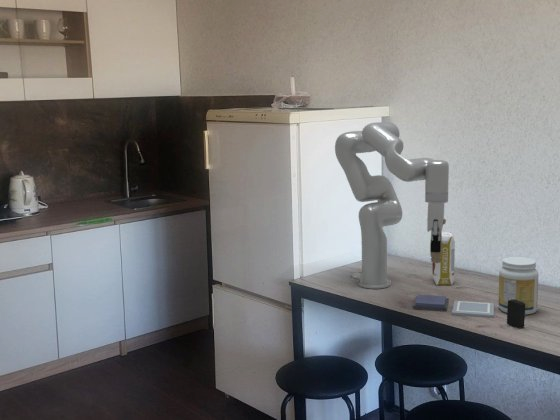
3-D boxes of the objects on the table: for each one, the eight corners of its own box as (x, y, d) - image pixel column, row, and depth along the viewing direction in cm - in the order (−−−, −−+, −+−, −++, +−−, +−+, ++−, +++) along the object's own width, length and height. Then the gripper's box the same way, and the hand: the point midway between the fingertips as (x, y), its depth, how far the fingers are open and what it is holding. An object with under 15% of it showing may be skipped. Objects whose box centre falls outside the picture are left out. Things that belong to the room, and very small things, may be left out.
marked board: (452, 314, 220) (452, 311, 220) (454, 302, 232) (454, 300, 232) (493, 317, 216) (493, 314, 216) (493, 305, 228) (493, 302, 228)
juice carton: (451, 279, 261) (452, 231, 257) (454, 285, 252) (455, 236, 249) (431, 279, 261) (432, 231, 258) (434, 285, 253) (435, 236, 250)
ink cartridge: (524, 327, 206) (525, 302, 205) (519, 329, 205) (520, 304, 204) (511, 322, 211) (513, 298, 209) (506, 324, 210) (507, 299, 208)
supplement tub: (506, 302, 231) (507, 254, 228) (542, 308, 224) (544, 259, 221) (492, 311, 222) (493, 261, 219) (529, 318, 214) (531, 267, 211)
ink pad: (412, 309, 227) (412, 303, 226) (416, 299, 237) (416, 293, 237) (446, 311, 223) (446, 305, 223) (448, 301, 234) (448, 295, 233)
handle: (437, 265, 225) (437, 221, 223) (424, 261, 231) (424, 218, 228) (447, 263, 228) (448, 219, 225) (434, 259, 233) (435, 216, 230)
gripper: (426, 193, 234) (425, 244, 237) (423, 201, 218) (423, 256, 221) (448, 193, 232) (447, 245, 235) (447, 201, 216) (446, 256, 219)
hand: (435, 249), depth 228 cm, fingers closed on handle, 4 cm apart
